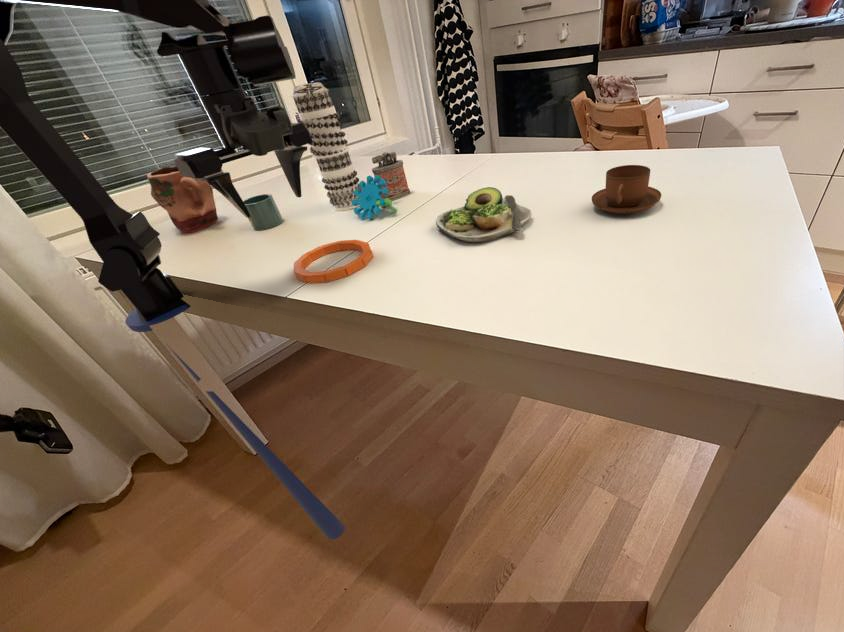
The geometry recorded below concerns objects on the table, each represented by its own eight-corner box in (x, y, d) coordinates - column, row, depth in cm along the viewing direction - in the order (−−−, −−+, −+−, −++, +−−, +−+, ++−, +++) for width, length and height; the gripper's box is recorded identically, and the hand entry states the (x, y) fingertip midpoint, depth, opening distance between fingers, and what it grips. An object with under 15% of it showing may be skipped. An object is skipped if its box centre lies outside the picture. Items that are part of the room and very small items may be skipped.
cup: (261, 232, 91) (248, 206, 88) (248, 227, 95) (235, 202, 91) (288, 221, 95) (276, 195, 91) (275, 217, 99) (263, 192, 95)
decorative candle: (348, 212, 93) (303, 86, 78) (323, 210, 98) (276, 90, 82) (374, 198, 99) (338, 78, 83) (349, 197, 103) (310, 82, 87)
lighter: (406, 191, 100) (395, 147, 94) (413, 193, 98) (402, 149, 92) (378, 201, 97) (365, 157, 91) (385, 203, 95) (372, 158, 88)
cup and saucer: (665, 216, 67) (671, 178, 63) (593, 221, 70) (594, 185, 66) (653, 192, 76) (658, 158, 72) (589, 198, 79) (590, 165, 75)
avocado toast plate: (558, 225, 71) (558, 199, 68) (471, 257, 66) (466, 230, 63) (504, 200, 85) (502, 178, 82) (428, 225, 80) (423, 202, 77)
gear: (343, 210, 89) (360, 168, 88) (362, 221, 95) (378, 181, 93) (375, 223, 84) (394, 179, 83) (394, 234, 89) (411, 192, 88)
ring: (322, 290, 64) (319, 282, 63) (283, 272, 72) (279, 265, 71) (387, 254, 71) (385, 247, 71) (344, 242, 79) (342, 235, 78)
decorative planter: (247, 218, 102) (217, 160, 93) (205, 238, 94) (168, 176, 85) (202, 215, 110) (170, 161, 101) (160, 233, 102) (121, 177, 93)
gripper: (171, 105, 45) (243, 236, 55) (310, 76, 55) (349, 191, 65) (140, 108, 51) (210, 226, 61) (271, 81, 61) (312, 186, 71)
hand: (274, 206), depth 64 cm, fingers open, 9 cm apart
